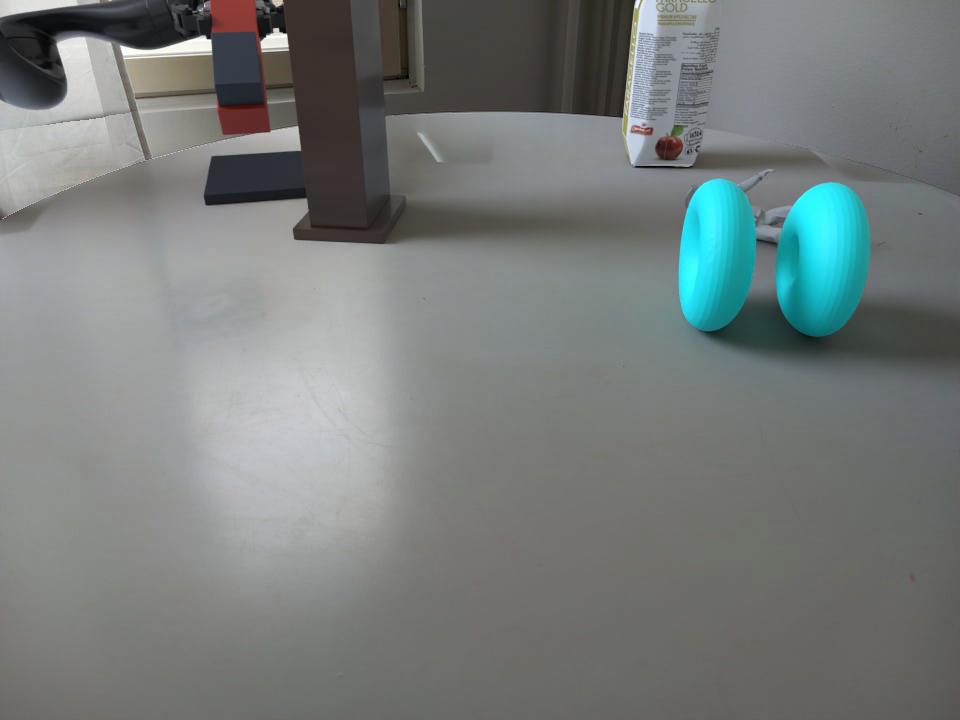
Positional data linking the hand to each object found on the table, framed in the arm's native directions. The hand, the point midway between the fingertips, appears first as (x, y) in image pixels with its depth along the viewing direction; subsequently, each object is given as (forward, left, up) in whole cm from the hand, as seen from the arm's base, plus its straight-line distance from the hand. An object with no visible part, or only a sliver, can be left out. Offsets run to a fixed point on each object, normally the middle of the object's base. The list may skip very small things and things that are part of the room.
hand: (235, 27), depth 73 cm
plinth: (+5, -18, -15) cm, 24 cm away
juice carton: (+43, -15, -15) cm, 48 cm away
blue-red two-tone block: (0, -1, -4) cm, 4 cm away
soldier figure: (+35, -38, -15) cm, 54 cm away
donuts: (+23, -50, -15) cm, 57 cm away
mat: (0, -2, -15) cm, 15 cm away
